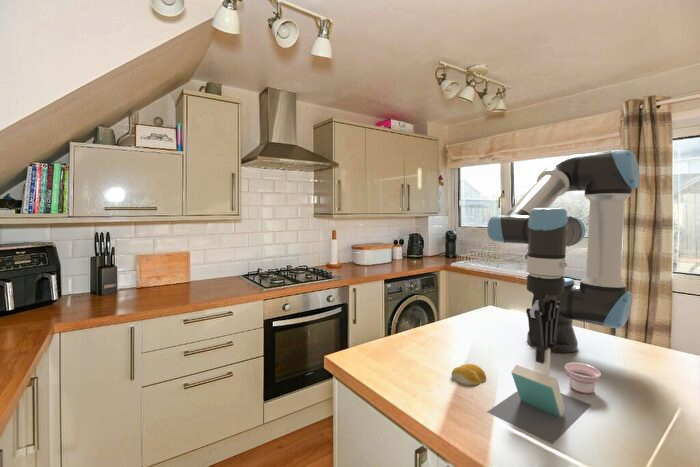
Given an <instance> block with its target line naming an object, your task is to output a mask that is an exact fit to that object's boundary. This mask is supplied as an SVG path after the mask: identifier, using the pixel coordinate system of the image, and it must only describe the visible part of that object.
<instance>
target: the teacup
mask: <svg viewBox="0 0 700 467" xmlns="http://www.w3.org/2000/svg"><path fill="white" fill-rule="evenodd" d="M564 370H565V371H566V372H567V376H568V377H569V387H570V388H571V389H572V390H574V391H576V392H577V393H580V394H586V395H589V394H592V393H594V392H595V388H596V386H595V384H596V383H597V382H598V380H599V379H600V378H602V373H601V371H600V370H599V369H598V368H596V367H594V366H592V365H590V364H586V363H583V362H576V361H575V362H572V361H571V362H567V363H565V365H564Z"/></svg>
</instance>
